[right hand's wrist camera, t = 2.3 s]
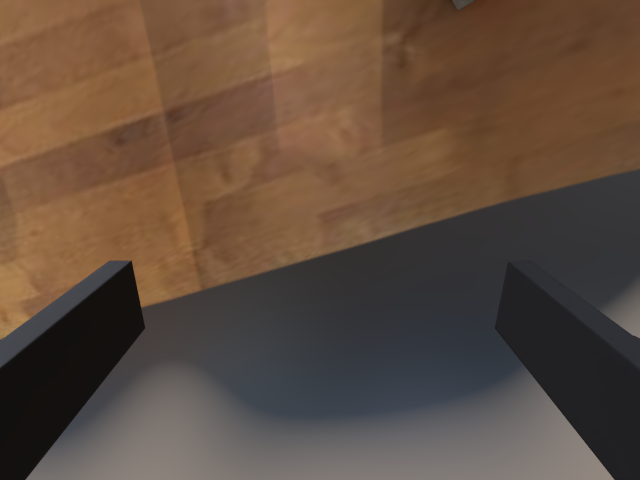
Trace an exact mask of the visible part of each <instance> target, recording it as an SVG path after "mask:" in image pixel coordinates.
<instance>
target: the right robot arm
mask: <svg viewBox="0 0 640 480" xmlns="http://www.w3.org/2000/svg"><path fill="white" fill-rule="evenodd" d="M144 329H145V325H144V320H143V315H142V310H141V305H140V300H139V295H138V290H137V285H136V280H135V276H134V271H133V266H132V261H109V262H107V263H106V264H104V265H103V266H102V267H100V268H99V269H98V270H96V271H95V272H94V273H92V274H91V275H89V276H88V277H87V278H85V279H84V280H83V281H81V282H80V283H78V284H77V285H76V286H74V287H73V288H72V289H70V290H69V291H68V292H66V293H65V294H63V295H62V296H61V297H59V298H58V299H57V300H55V301H54V302H53V303H51V304H50V305H48V306H47V307H46V308H44V309H43V310H42V311H40V312H39V313H37V314H36V315H35V316H33V317H32V318H31V319H29V320H28V321H27V322H25V323H24V324H22V325H21V326H20V327H18V328H17V329H16V330H14V331H13V332H12V333H10V334H9V335H7V336H6V337H5V338H3V339H1V340H0V480H25V479H26V478H27V477H28V476H29V474H30V473H31V472H32V471H33V469H34V468H35V467H36V466H37V464H38V463H39V462H40V460H41V459H42V458H43V457H44V455H45V454H46V453H47V452H48V450H49V449H50V448H51V447H52V445H53V444H54V443H55V442H56V440H57V439H58V438H59V436H60V435H61V434H62V433H63V431H64V430H65V429H66V428H67V426H68V425H69V424H70V423H71V421H72V420H73V419H74V417H75V416H76V415H77V414H78V412H79V411H80V410H81V409H82V407H83V406H84V405H85V404H86V402H87V401H88V400H89V398H90V397H91V396H92V395H93V393H94V392H95V391H96V390H97V388H98V387H99V386H100V385H101V383H102V382H103V381H104V380H105V378H106V377H107V376H108V374H109V373H110V372H111V371H112V369H113V368H114V367H115V366H116V364H117V363H118V362H119V361H120V359H121V358H122V357H123V355H124V354H125V353H126V352H127V350H128V349H129V348H130V347H131V345H132V344H133V343H134V342H135V340H136V339H137V338H138V336H139V335H140V334H141V333H142V331H143V330H144ZM495 329H496V330H497V331H498V333H499V334H500V335H501V336H502V338H503V339H504V340H505V342H506V343H507V344H508V345H509V347H510V348H511V349H512V350H513V352H514V353H515V354H516V355H517V357H518V358H519V359H520V361H521V362H522V363H523V364H524V366H525V367H526V368H527V369H528V371H529V372H530V373H531V374H532V376H533V377H534V378H535V379H536V381H537V382H538V383H539V385H540V386H541V387H542V388H543V390H544V391H545V392H546V393H547V395H548V396H549V397H550V398H551V400H552V401H553V402H554V404H555V405H556V406H557V407H558V409H559V410H560V411H561V412H562V414H563V415H564V416H565V417H566V419H567V420H568V421H569V423H570V424H571V425H572V426H573V428H574V429H575V430H576V431H577V433H578V434H579V435H580V436H581V438H582V439H583V440H584V442H585V443H586V444H587V445H588V447H589V448H590V449H591V450H592V452H593V453H594V454H595V455H596V457H597V458H598V459H599V460H600V462H601V463H602V464H603V466H604V467H605V468H606V469H607V471H608V472H609V473H610V474H611V476H612V477H613V478H614V479H615V480H640V338H638V337H636V336H633V335H631V334H630V333H628V332H627V331H626V330H624V329H623V328H622V327H620V326H619V325H618V324H616V323H615V322H613V321H612V320H611V319H609V318H608V317H607V316H605V315H604V314H602V313H601V312H600V311H598V310H597V309H596V308H594V307H593V306H592V305H590V304H589V303H587V302H586V301H585V300H583V299H582V298H581V297H579V296H578V295H576V294H575V293H574V292H572V291H571V290H570V289H568V288H567V287H566V286H564V285H563V284H562V283H560V282H559V281H557V280H556V279H555V278H553V277H552V276H550V275H549V274H548V273H546V272H545V271H544V270H542V269H541V268H540V267H538V266H537V265H536V264H534V263H533V262H531V261H508V266H507V271H506V276H505V280H504V285H503V290H502V295H501V300H500V305H499V310H498V315H497V320H496V325H495Z"/></svg>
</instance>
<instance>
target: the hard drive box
mask: <svg viewBox="0 0 640 480" xmlns="http://www.w3.org/2000/svg"><path fill="white" fill-rule="evenodd" d="M473 1H474V0H452V2H453V3H454V5H455V7H456V8H457V10H460V9H462V8H464V7H465V6H467V5H468V4H470V3H471V2H473Z"/></svg>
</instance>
